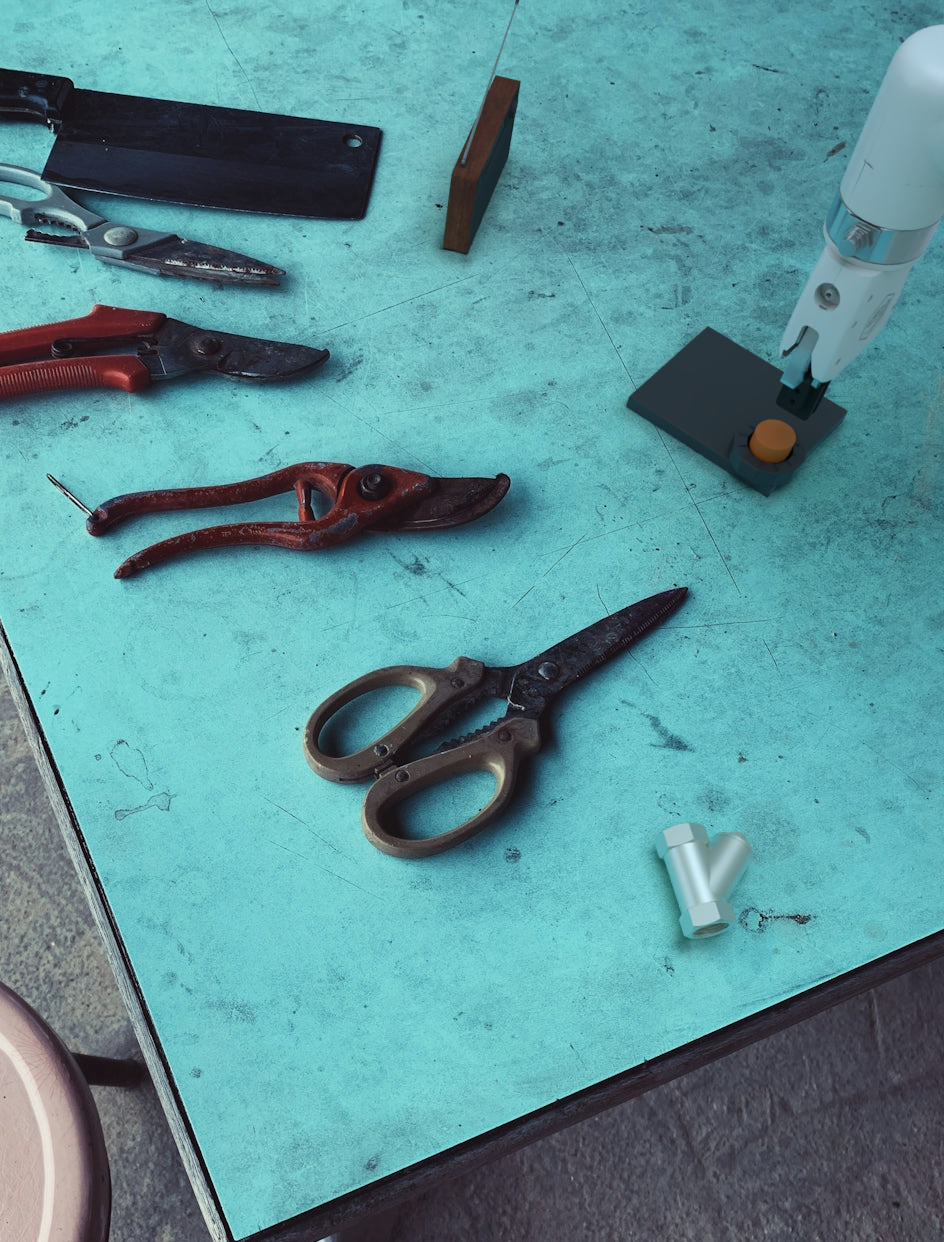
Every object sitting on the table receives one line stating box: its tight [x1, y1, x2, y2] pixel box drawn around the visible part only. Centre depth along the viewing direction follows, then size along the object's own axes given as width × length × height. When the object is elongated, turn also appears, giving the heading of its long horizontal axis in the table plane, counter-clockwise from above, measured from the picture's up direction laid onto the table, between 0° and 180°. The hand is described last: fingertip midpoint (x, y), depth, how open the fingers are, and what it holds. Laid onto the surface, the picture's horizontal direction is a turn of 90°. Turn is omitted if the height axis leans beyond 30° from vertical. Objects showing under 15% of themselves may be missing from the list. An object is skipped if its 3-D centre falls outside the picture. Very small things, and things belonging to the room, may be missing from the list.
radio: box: [442, 0, 522, 254], centre depth 120 cm, size 19×3×15 cm, turn 162°
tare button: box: [749, 420, 796, 463], centre depth 107 cm, size 4×4×2 cm
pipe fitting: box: [653, 821, 755, 940], centre depth 89 cm, size 8×4×7 cm
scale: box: [625, 325, 849, 498], centre depth 112 cm, size 17×14×3 cm
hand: (795, 407), depth 103 cm, fingers closed
